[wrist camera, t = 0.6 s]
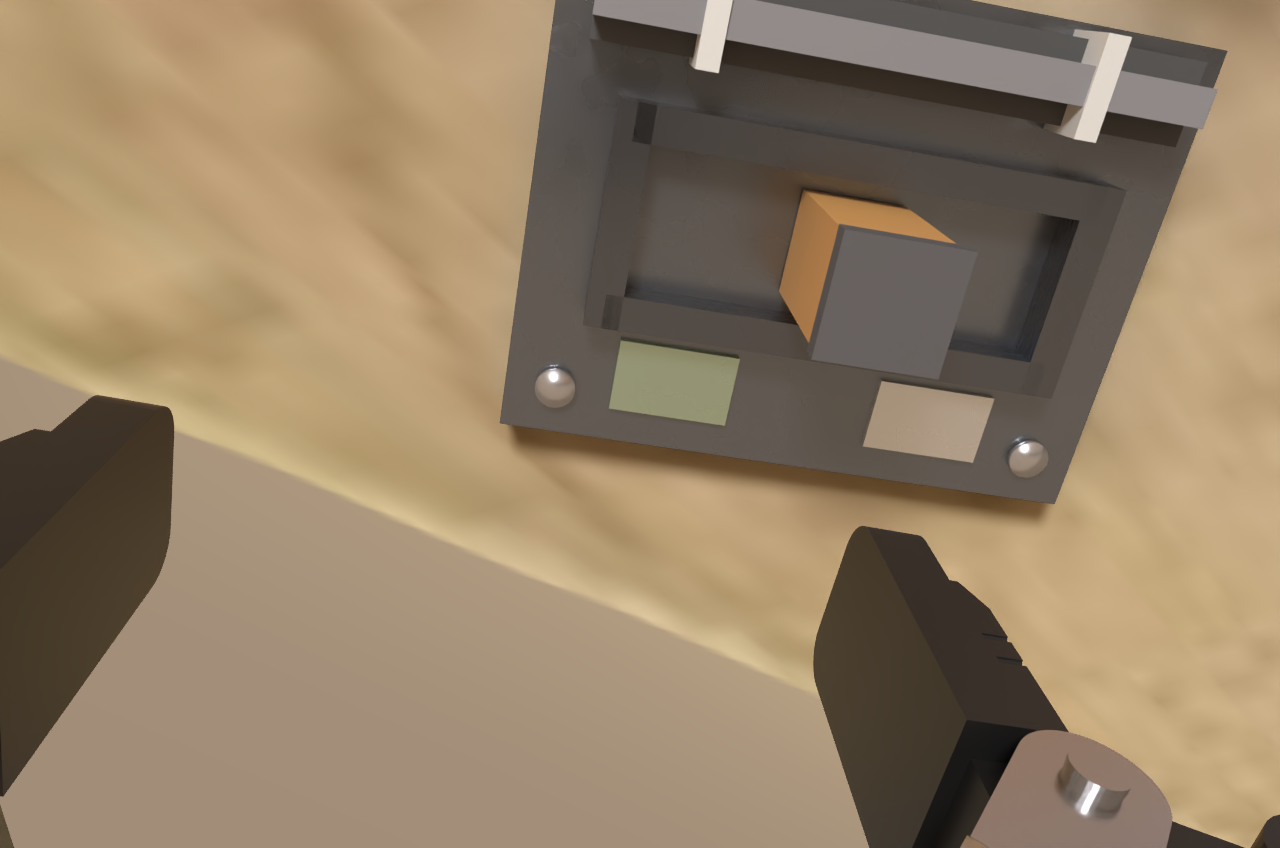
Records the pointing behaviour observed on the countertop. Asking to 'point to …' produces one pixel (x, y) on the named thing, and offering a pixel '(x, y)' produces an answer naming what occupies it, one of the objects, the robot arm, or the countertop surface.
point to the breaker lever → (874, 284)
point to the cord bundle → (930, 59)
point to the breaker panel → (758, 248)
